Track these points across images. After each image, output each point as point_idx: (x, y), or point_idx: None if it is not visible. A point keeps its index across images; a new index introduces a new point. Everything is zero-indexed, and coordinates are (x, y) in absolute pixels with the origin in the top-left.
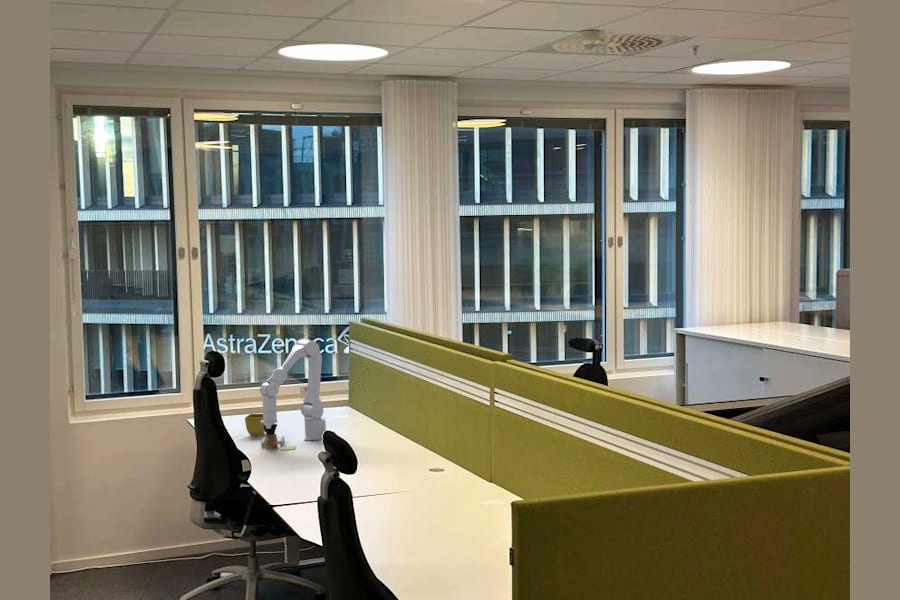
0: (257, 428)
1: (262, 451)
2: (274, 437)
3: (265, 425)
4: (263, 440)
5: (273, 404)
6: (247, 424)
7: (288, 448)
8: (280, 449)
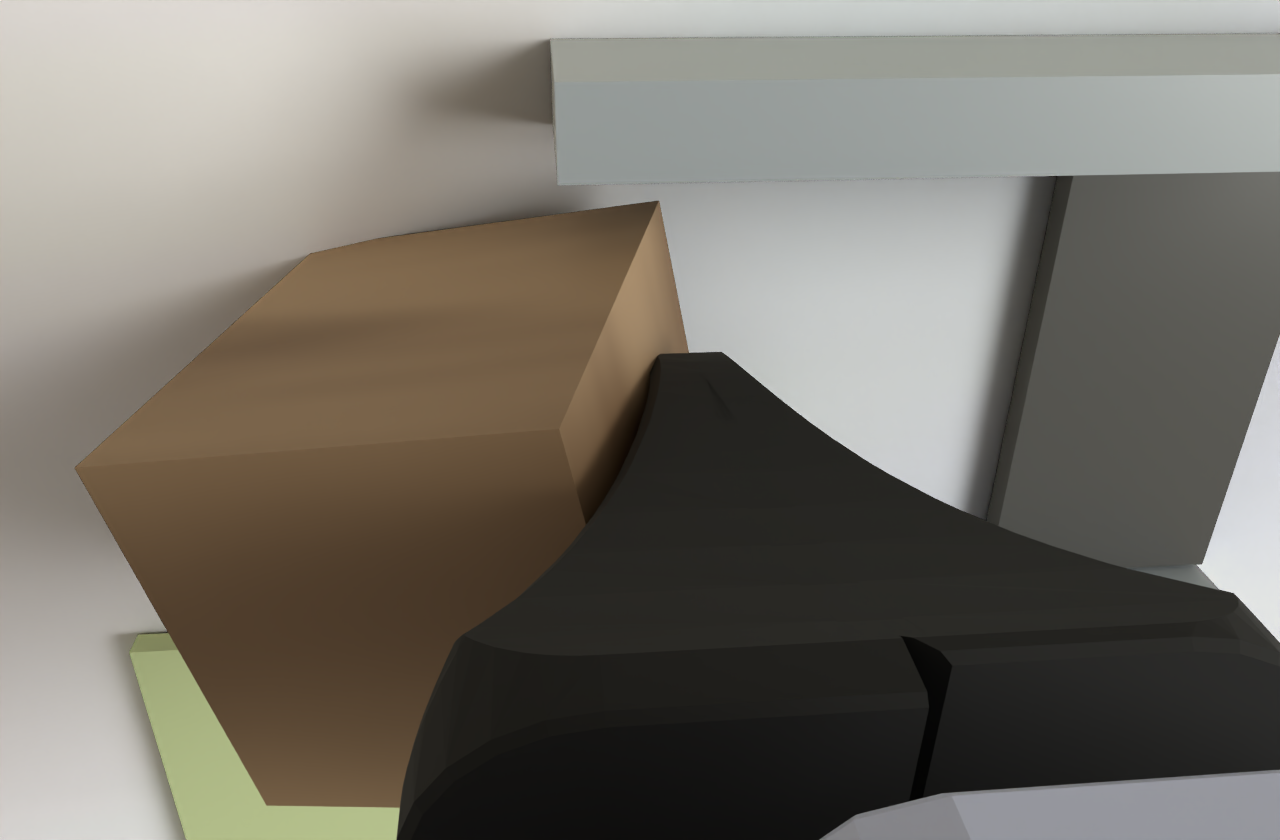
0: None
1: (46, 137)
2: (337, 741)
3: (1150, 732)
4: (913, 142)
5: None
6: None
7: (260, 804)
8: (153, 657)
